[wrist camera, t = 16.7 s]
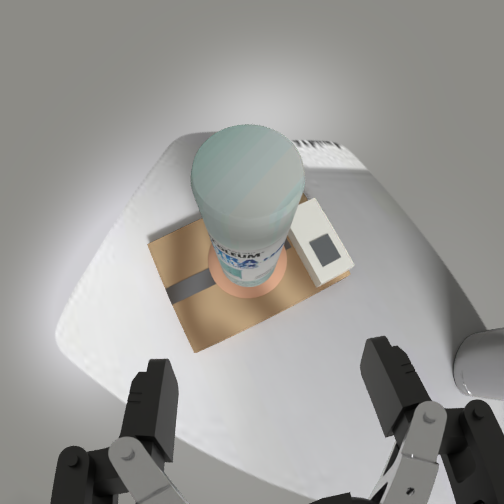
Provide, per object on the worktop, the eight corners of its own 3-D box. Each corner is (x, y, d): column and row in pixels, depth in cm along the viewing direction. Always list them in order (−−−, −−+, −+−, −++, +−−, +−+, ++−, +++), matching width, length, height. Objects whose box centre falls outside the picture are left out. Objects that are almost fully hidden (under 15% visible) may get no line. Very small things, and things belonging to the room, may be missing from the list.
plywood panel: (292, 183, 41) (293, 176, 39) (346, 276, 37) (351, 273, 36) (150, 247, 38) (146, 243, 36) (196, 352, 35) (194, 353, 33)
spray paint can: (208, 265, 36) (164, 177, 17) (243, 223, 37) (239, 106, 18) (253, 300, 35) (258, 247, 16) (288, 256, 36) (328, 161, 17)
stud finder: (279, 221, 38) (281, 212, 35) (310, 206, 38) (315, 196, 36) (316, 287, 35) (321, 283, 33) (347, 270, 36) (355, 265, 33)
